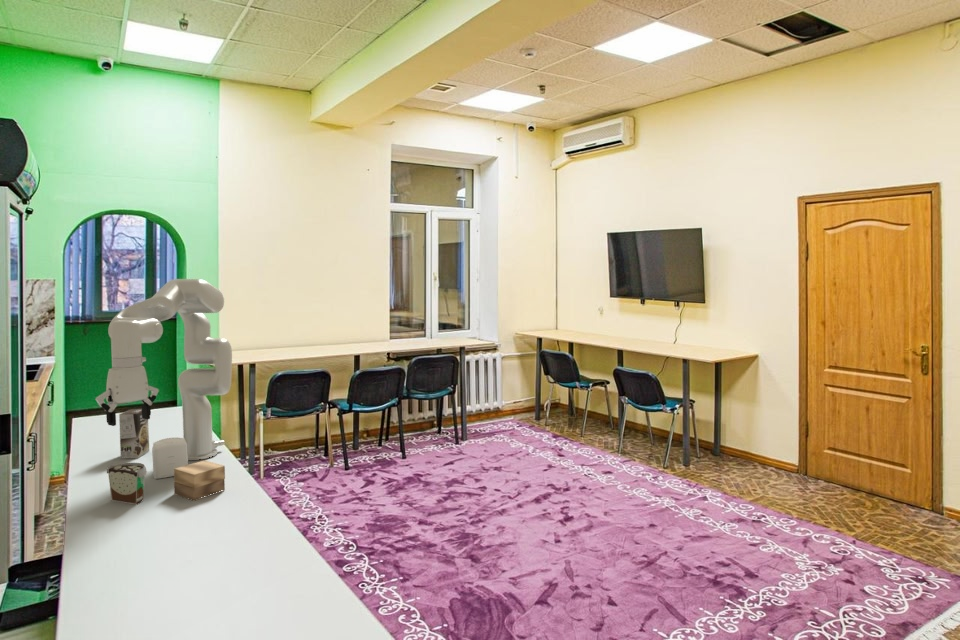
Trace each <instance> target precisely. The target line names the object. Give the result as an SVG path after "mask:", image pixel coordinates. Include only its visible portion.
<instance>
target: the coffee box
mask: <svg viewBox="0 0 960 640" xmlns="http://www.w3.org/2000/svg"><path fill="white" fill-rule="evenodd" d="M118 417H119V419H118V420H119V445H120V447H119V449H120V459H140V458H141V457H143V456H144V455H146V454H147V453H149V452H150V433H149V419H144V418H142V408H132V409H128V410H126V411H124V412H121V413H119V415H118ZM145 453H146V454H145Z"/></svg>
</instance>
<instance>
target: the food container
mask: <svg viewBox="0 0 960 640" xmlns="http://www.w3.org/2000/svg"><path fill="white" fill-rule="evenodd" d="M147 473H148V471H147V468H146V466H145V464H144V463H141V462H124V463H123V462H122V463H117V464H112V465H108V466H107V468H106V474H108V482H109V490H110V497H111V501H112V502H117V503H123V504H124V503H125V504H130V505H136V504H137V505H139V504H140V503H142V502H143V501H144V491H145V476H146V475H147ZM142 500H143V501H142ZM141 501H142V502H141ZM138 503H139V504H138Z"/></svg>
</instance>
